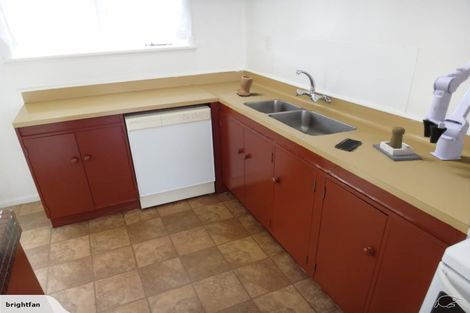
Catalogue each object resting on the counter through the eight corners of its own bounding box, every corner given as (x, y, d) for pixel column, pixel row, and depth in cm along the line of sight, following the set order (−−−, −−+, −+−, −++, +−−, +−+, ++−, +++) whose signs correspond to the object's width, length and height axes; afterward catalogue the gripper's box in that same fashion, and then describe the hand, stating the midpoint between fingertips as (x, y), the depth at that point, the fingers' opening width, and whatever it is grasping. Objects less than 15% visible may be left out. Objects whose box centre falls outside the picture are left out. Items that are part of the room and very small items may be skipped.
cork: (385, 147, 146) (390, 124, 141) (399, 148, 144) (405, 126, 140) (388, 152, 140) (393, 129, 136) (402, 153, 139) (408, 130, 134)
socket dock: (397, 145, 151) (399, 138, 150) (421, 159, 136) (423, 151, 134) (372, 146, 150) (373, 139, 148) (393, 160, 134) (395, 153, 133)
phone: (334, 146, 147) (347, 137, 158) (333, 148, 148) (346, 140, 158) (350, 150, 143) (362, 141, 153) (349, 152, 143) (362, 143, 153)
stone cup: (254, 96, 246) (254, 77, 240) (239, 97, 244) (239, 77, 238) (249, 92, 260) (249, 74, 254) (235, 93, 257) (235, 74, 251)
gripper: (422, 102, 130) (414, 133, 135) (434, 111, 117) (424, 144, 122) (441, 104, 129) (432, 135, 134) (455, 112, 116) (444, 146, 121)
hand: (429, 140), depth 128 cm, fingers open, 7 cm apart
